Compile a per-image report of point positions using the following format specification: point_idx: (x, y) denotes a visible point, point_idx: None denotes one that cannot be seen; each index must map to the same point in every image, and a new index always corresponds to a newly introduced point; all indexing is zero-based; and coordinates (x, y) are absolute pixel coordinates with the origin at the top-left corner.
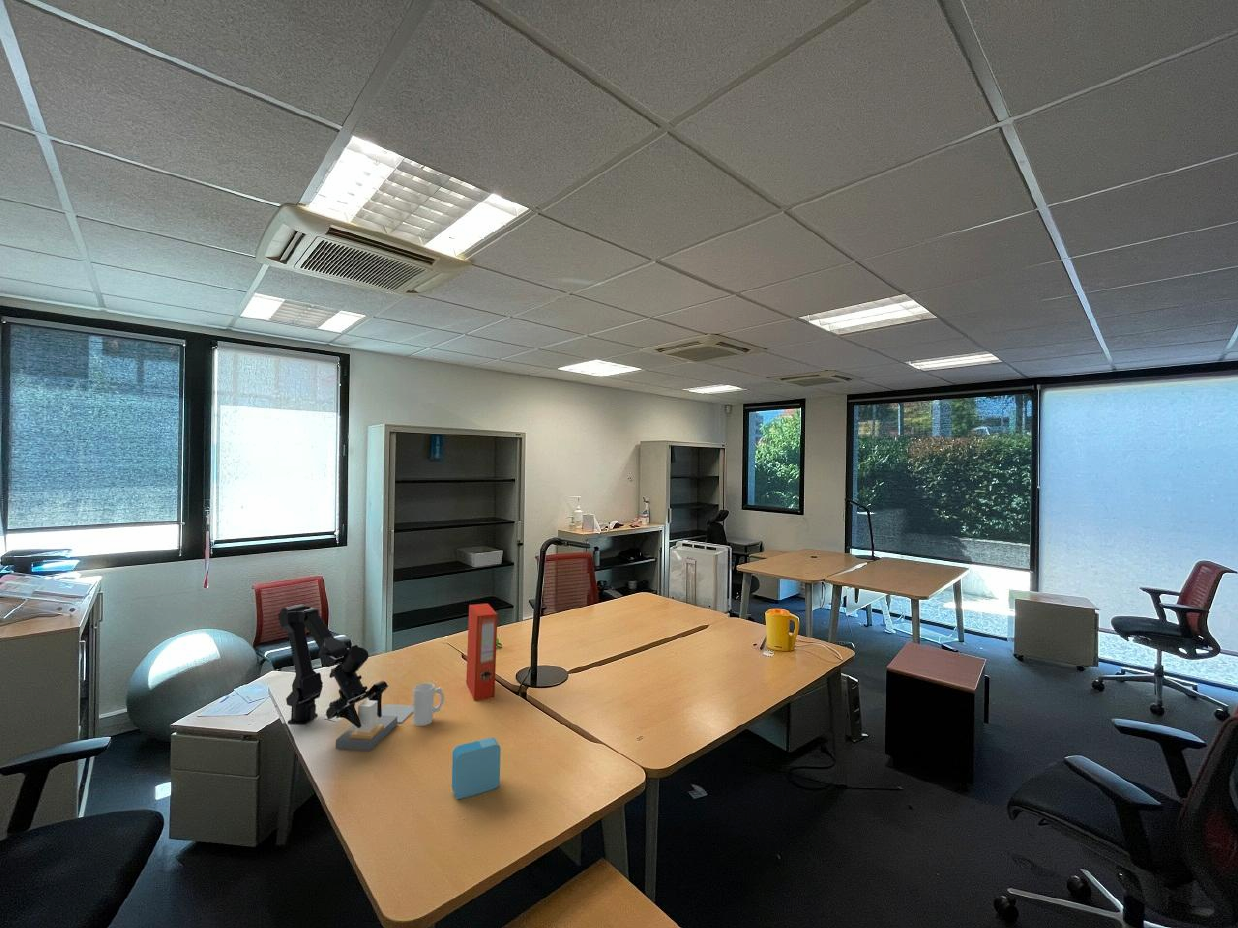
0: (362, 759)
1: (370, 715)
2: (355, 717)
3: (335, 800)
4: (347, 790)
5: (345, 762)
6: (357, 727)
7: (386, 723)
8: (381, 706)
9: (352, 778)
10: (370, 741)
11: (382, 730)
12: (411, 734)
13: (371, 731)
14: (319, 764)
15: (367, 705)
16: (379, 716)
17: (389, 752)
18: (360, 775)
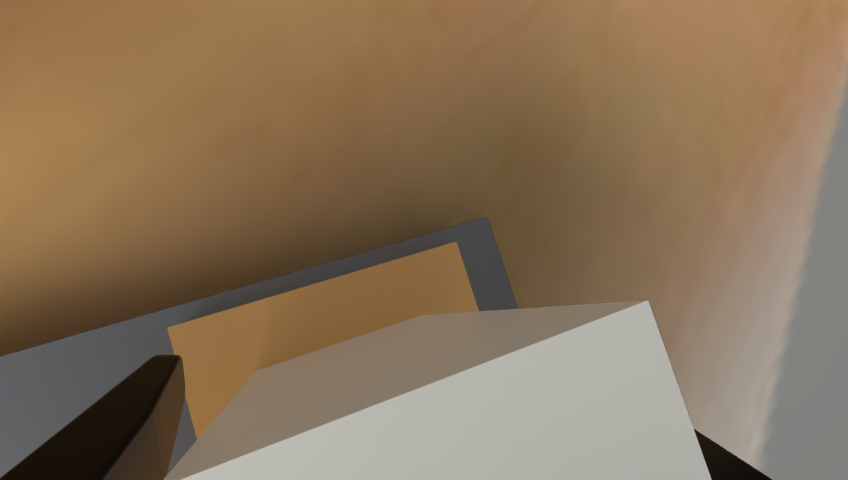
0: (552, 195)
1: (495, 312)
2: (749, 465)
3: (840, 26)
4: (775, 29)
5: (631, 283)
6: None
7: (61, 387)
8: (10, 471)
9: (707, 86)
10: (474, 220)
11: (239, 288)
12: (43, 84)
13: (385, 321)
14: (730, 442)
15: (647, 467)
16: (182, 388)
17: (394, 69)
18: (668, 62)
